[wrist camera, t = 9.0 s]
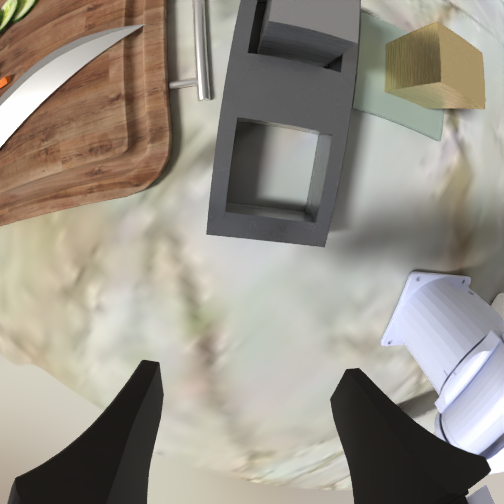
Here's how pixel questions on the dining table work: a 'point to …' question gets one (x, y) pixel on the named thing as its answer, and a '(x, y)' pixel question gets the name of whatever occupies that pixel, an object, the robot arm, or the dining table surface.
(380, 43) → the mat
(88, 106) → the chopping board
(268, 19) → the gray metal block
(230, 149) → the gray slotted board
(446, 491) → the robot arm
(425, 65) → the tan wooden block
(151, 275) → the dining table surface
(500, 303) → the bust
